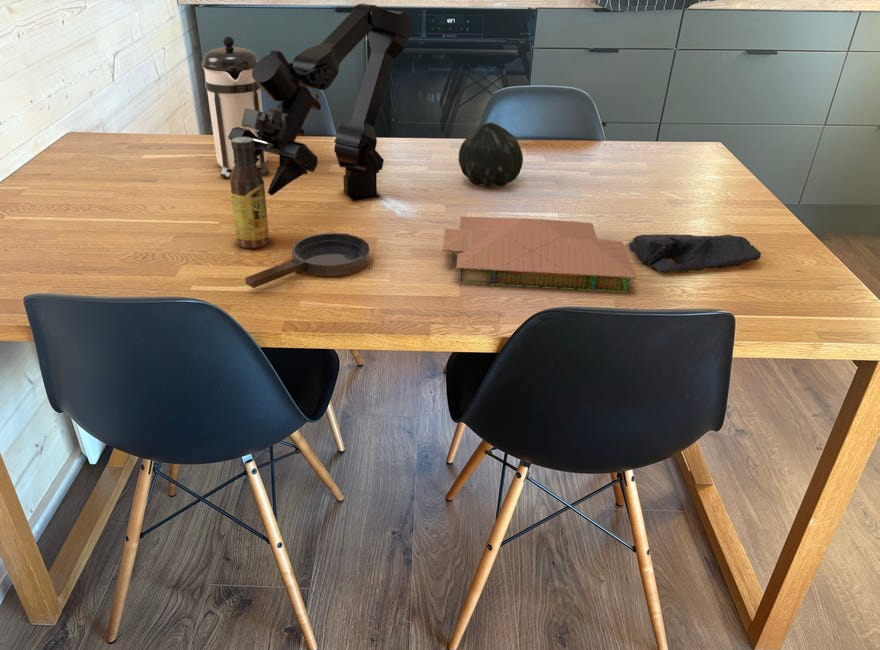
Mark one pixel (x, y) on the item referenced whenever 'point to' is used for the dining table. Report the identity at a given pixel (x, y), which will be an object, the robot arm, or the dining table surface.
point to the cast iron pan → (332, 254)
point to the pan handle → (276, 273)
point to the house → (536, 249)
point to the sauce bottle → (248, 196)
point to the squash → (490, 156)
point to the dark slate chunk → (692, 251)
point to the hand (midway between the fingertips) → (252, 188)
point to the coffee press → (231, 98)
